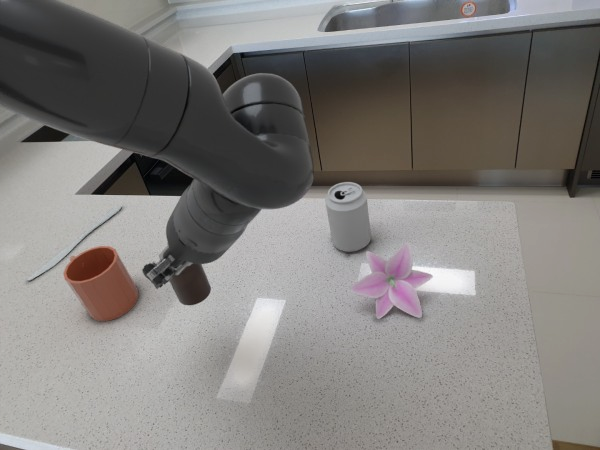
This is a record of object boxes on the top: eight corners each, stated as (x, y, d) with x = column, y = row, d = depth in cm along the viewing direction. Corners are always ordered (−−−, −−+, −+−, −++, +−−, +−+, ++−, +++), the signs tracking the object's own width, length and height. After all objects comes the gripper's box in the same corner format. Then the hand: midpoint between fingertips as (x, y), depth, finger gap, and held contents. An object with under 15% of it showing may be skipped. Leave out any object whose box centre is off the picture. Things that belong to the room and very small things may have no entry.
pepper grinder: (193, 310, 63) (172, 265, 58) (171, 298, 66) (149, 254, 61) (217, 287, 66) (199, 242, 61) (195, 276, 69) (176, 233, 63)
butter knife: (124, 206, 113) (116, 203, 114) (32, 282, 96) (23, 278, 97) (125, 208, 113) (117, 205, 114) (33, 284, 96) (25, 280, 97)
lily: (342, 309, 77) (344, 295, 68) (366, 248, 81) (371, 227, 72) (411, 337, 75) (422, 326, 66) (432, 273, 79) (446, 255, 70)
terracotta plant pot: (148, 293, 87) (127, 255, 81) (107, 328, 82) (81, 290, 76) (110, 272, 94) (88, 235, 88) (70, 303, 89) (43, 265, 83)
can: (328, 234, 92) (319, 185, 84) (364, 225, 92) (358, 175, 85) (338, 258, 86) (329, 207, 78) (376, 248, 86) (371, 196, 79)
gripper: (229, 162, 54) (193, 217, 68) (132, 232, 46) (114, 278, 60) (273, 208, 54) (228, 254, 68) (184, 287, 46) (154, 320, 60)
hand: (175, 265), depth 64 cm, fingers closed on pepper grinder, 4 cm apart
